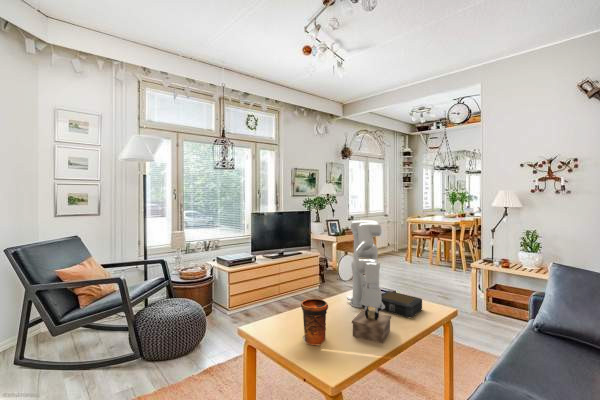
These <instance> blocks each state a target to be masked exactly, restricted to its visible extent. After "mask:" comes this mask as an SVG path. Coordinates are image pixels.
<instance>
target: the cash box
mask: <svg viewBox="0 0 600 400" xmlns="http://www.w3.org/2000/svg"><path fill="white" fill-rule="evenodd" d="M381 296H382V302H383V304H384V305H385V308H384V309H382V310H381V311H383V312H388V313H391V314H395V315H397V314H398V315H399V316H401V315H402V317H404V316H405V318H408V317H412V318H413V317H415V316H416V315H417V314H418V312H419V311H420V310H421V309H422V310H423V298H421V297H417V296H412V295H408V294H404V293H400V292H394V291H392V290H388V291H385V292H383V293H381ZM380 307H382V306H380ZM380 307H379V308H380ZM422 310H421V311H422ZM421 311H420V312H421ZM420 312H419V313H420ZM416 313H417V314H416ZM415 314H416V315H415ZM398 315H397V316H398Z"/></svg>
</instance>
